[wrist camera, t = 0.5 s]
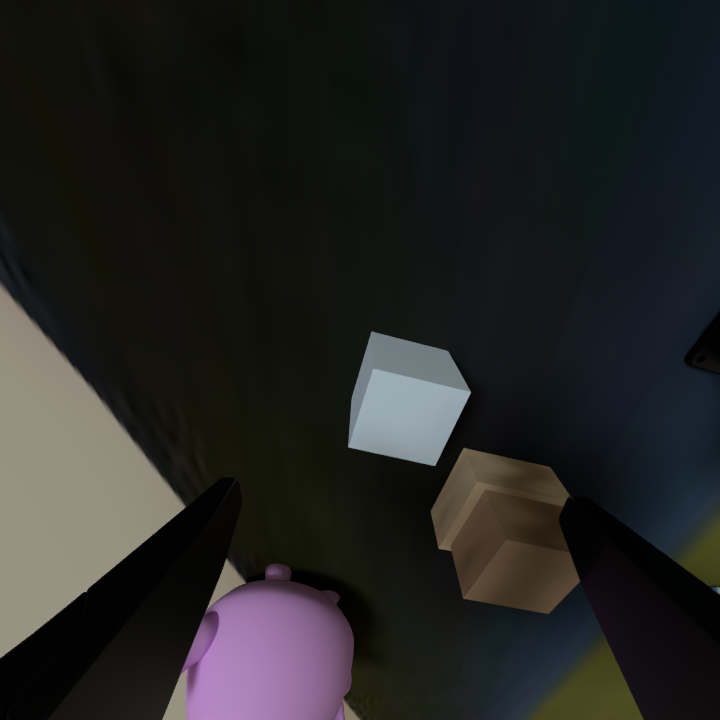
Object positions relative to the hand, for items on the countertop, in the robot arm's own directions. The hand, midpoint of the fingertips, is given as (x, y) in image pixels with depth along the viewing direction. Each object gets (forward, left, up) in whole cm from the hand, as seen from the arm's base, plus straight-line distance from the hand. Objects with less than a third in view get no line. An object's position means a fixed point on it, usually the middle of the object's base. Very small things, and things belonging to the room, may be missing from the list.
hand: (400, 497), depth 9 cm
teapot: (+2, +30, -12) cm, 32 cm away
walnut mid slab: (-12, +11, -9) cm, 18 cm away
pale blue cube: (-2, +3, -12) cm, 13 cm away
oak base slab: (-12, +11, -13) cm, 20 cm away
